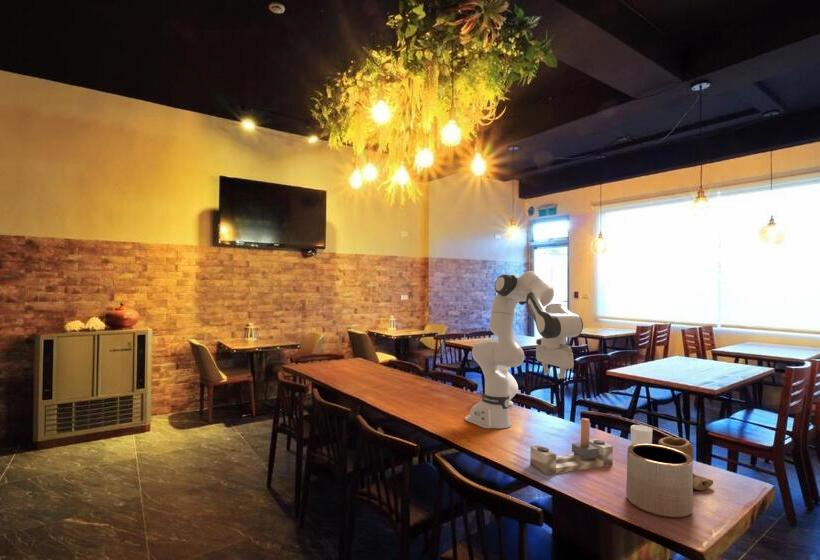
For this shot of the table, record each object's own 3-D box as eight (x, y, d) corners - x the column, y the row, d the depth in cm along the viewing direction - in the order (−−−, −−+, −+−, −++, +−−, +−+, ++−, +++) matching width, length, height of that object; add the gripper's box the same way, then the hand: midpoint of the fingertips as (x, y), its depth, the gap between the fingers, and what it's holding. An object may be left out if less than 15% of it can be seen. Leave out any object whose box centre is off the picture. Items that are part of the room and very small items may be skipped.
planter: (676, 526, 122) (677, 470, 122) (614, 500, 136) (615, 450, 136) (702, 508, 132) (703, 456, 132) (643, 486, 146) (643, 439, 147)
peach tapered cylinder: (584, 461, 160) (585, 422, 160) (571, 454, 167) (572, 417, 167) (597, 459, 162) (598, 421, 162) (584, 452, 169) (585, 416, 169)
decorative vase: (518, 400, 254) (518, 357, 254) (517, 408, 237) (518, 362, 237) (487, 397, 259) (488, 355, 259) (484, 405, 242) (485, 360, 242)
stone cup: (650, 479, 151) (650, 436, 152) (666, 471, 158) (666, 430, 159) (698, 497, 139) (699, 450, 139) (714, 488, 146) (714, 443, 146)
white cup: (640, 457, 171) (641, 431, 172) (625, 449, 179) (626, 425, 179) (656, 455, 174) (657, 430, 174) (641, 448, 181) (641, 424, 181)
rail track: (545, 475, 153) (545, 454, 153) (530, 465, 161) (530, 445, 162) (612, 465, 163) (612, 445, 163) (594, 456, 172) (595, 437, 172)
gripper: (577, 345, 174) (577, 380, 174) (545, 339, 193) (545, 370, 193) (564, 346, 172) (564, 381, 172) (533, 339, 191) (532, 371, 191)
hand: (553, 375), depth 182 cm, fingers open, 8 cm apart
